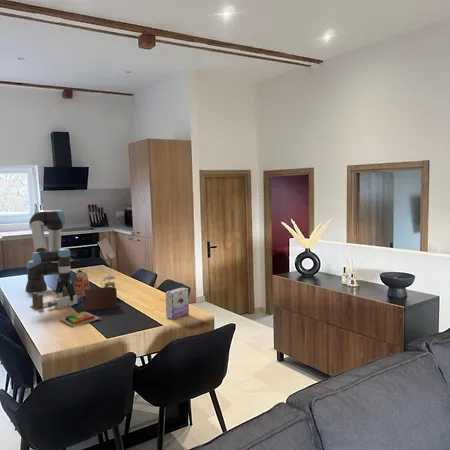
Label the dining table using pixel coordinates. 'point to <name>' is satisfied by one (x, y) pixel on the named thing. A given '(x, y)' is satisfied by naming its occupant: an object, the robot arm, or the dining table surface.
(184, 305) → the candy box
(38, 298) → the cradle rack
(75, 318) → the wooden puzzle
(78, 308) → the dining table surface
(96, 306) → the letter holder
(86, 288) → the milk carton
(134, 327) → the dining table surface
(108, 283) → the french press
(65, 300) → the white block with pegs
